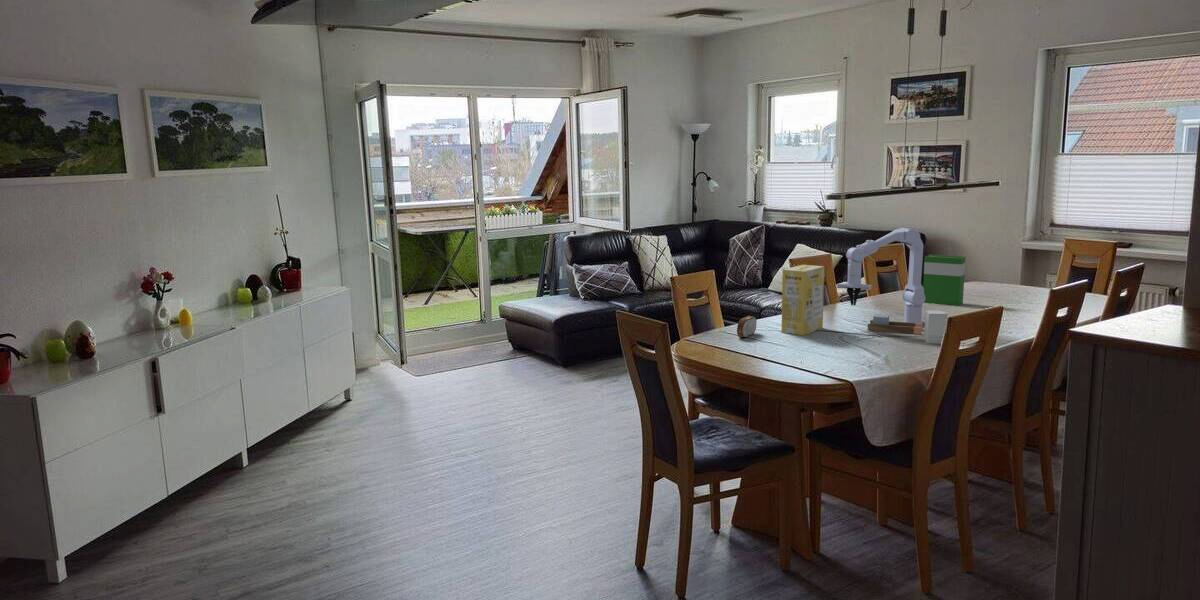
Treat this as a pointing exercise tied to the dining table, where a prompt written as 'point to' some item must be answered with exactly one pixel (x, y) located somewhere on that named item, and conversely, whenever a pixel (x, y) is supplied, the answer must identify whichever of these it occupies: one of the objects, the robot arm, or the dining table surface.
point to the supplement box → (934, 326)
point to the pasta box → (802, 299)
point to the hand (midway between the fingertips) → (853, 304)
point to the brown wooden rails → (897, 327)
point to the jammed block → (881, 319)
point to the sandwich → (746, 326)
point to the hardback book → (944, 279)
